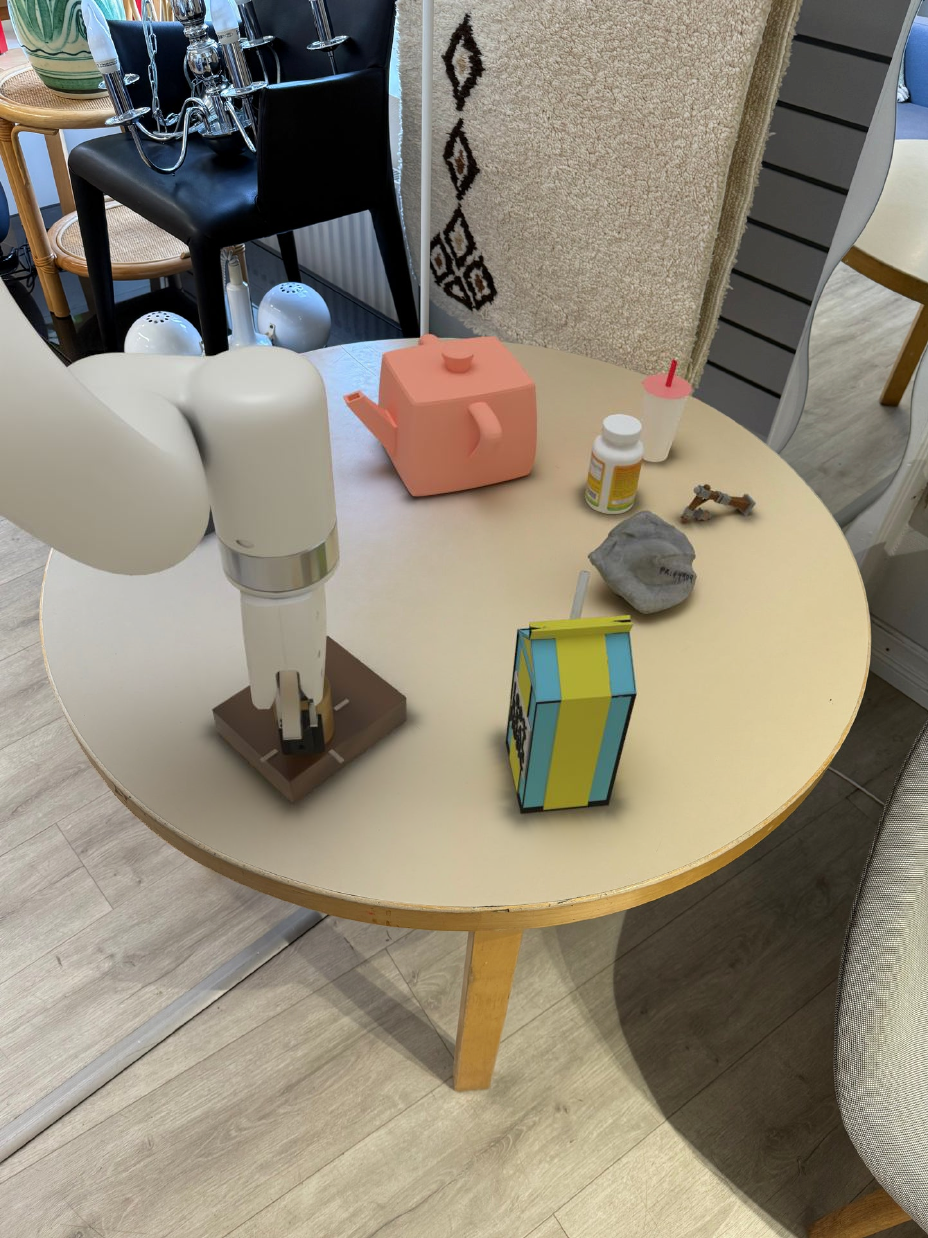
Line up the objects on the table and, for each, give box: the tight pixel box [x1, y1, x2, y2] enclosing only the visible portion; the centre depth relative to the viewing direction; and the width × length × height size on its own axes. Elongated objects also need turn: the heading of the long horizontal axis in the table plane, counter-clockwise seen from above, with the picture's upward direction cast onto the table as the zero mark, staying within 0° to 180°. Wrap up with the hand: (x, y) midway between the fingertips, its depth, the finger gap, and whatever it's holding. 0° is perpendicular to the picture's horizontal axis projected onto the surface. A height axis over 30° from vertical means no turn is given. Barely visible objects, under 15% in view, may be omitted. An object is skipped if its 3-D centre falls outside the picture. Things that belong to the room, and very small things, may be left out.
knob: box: [273, 674, 335, 745], centre depth 69 cm, size 4×4×5 cm
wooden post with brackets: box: [680, 483, 757, 522], centre depth 96 cm, size 2×8×4 cm, turn 108°
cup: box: [639, 358, 692, 463], centre depth 102 cm, size 5×5×12 cm
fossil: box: [587, 510, 698, 615], centre depth 86 cm, size 11×9×8 cm
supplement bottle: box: [584, 413, 644, 515], centre depth 96 cm, size 5×5×10 cm
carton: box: [505, 570, 638, 815], centre depth 66 cm, size 7×8×18 cm
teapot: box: [343, 333, 538, 497], centre depth 98 cm, size 20×22×14 cm
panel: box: [211, 635, 408, 805], centre depth 74 cm, size 12×11×3 cm
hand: (305, 722), depth 70 cm, fingers closed on knob, 4 cm apart
